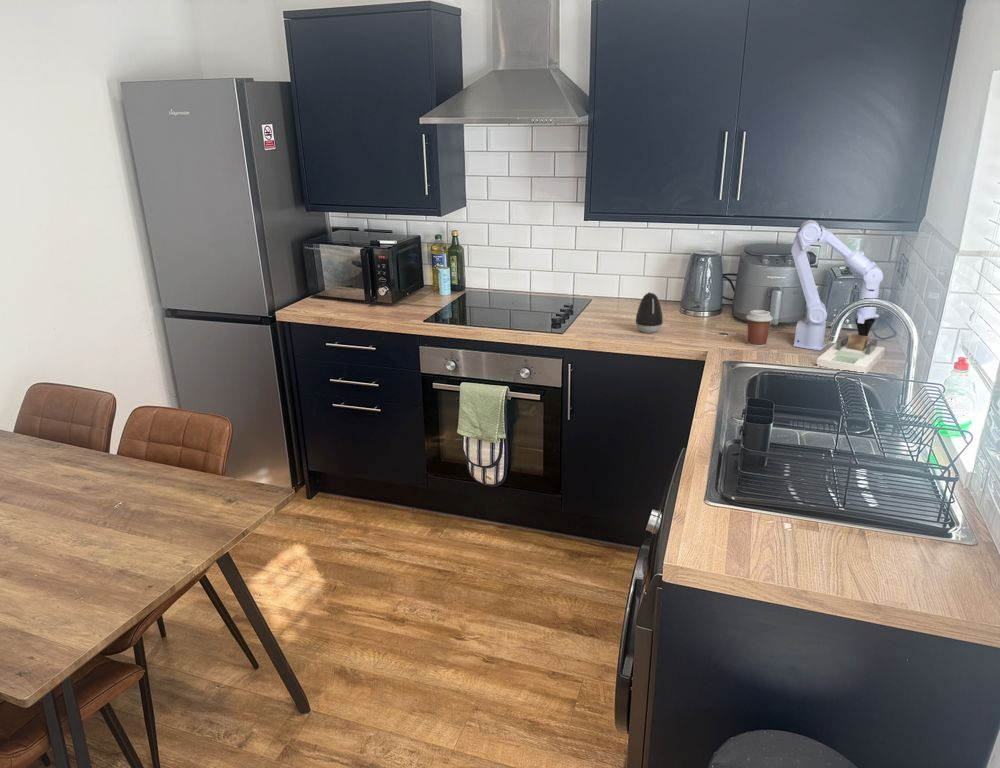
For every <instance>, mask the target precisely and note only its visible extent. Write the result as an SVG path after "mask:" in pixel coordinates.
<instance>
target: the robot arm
mask: <svg viewBox="0 0 1000 768" xmlns="http://www.w3.org/2000/svg"><path fill="white" fill-rule="evenodd" d="M796 230H797V231H796V233H795V237H794V239H793V243H792V246H791V248H790V250H791V251H790V252H791V255H792V259H793V262H794V266H795V269H796V272H797V276H798V278H799V282H800V285H801V288H802V289H801V290H802V292H803V295H804V300H805V303H806V314H807V315H806V317H805V318H804V320H799V321H797V323H796V327H795V333H794V342H793V347H795V348H802V349H808V350H815V351H819V352H820V351H822V350H823V349H825V348H826V347H827V345H828V344H827V343H825V335H826V329H827V321H826V320H827V317H828V312H827V309H826V305H825V303H823V301H822V300H821V298H820V296H819V295H820V294H819V292H818V289H817V285H816V282H815V279H814V275H813V272H812V268H811V265H810V261H809V258H808V254H807V251H808V250H809V248H811V246H812V244H814V243H815V242H816V241H817V243H820V244H822V243H823V244H827V246H829V247H831V249H833V250H835V252H837V253H838V254H840V255H841V256H842V257H843V258H844V261H843V262H844V264H845V265H846V266H847V267H848V268H850V269H851V270H852V271H853V272H855V273H856V274H857V275H858V276H861V277H862V284H861V286H860V292H859V299H858V301H859V300H860V299H864V298H878V299H879V295H880V285H881V282H882V281H883V280H884V274H883V271H882V269H881V268H880V267H879V266H878V264H876V262H875V261H874V260H870V259H869V258H867V257H866V256H865V252H864V251H862V250H861V251H859V250H858V249H851V248H850V247H848V245H846V244H845V243H844V242H843V241H842V240H840V238H839V237H837V236H836V235H835V234H834V233H833V232H832V231H831V230H830V229H827V228H826V227H824V226H823V225H821V224H819V223H818V222H817V221H815V220H813V219H809V220H806V221H804V222H803V223H802V224H801V225H800V226H799V227H798V229H796ZM877 308H878V307H877ZM877 308H876V307H864V308H860V309H858V308H857V312H856V313H855V314H856V317H857V318H856V319H855V325H856V327H857V335H862V336H868V337H869V333H870V331H871V329H872V326H873V325H874V323H875V322H876V319H875V318H879V317H880V314H878V313H877Z"/></svg>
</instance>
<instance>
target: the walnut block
mask: <svg viewBox="0 0 1000 768" xmlns="http://www.w3.org/2000/svg"><path fill="white" fill-rule="evenodd" d="M868 341H869V335H868V336H862V335H858V334H854V333H852V334H851V335H850V336H849V337H848V347H847V349H852V350H859V351H864V350H865V349H866V347H867V345H868Z"/></svg>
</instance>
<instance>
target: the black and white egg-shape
mask: <svg viewBox="0 0 1000 768" xmlns="http://www.w3.org/2000/svg"><path fill="white" fill-rule="evenodd" d="M663 320H664V319H663V312H662V307H661V301H660V299H659V298H658V296H657V294H655V293H653V292H651V291H650V292H647V293H645V294H644V295H643V297H642V298H641V300H640V302H639V305H638V308H637V312H636V316H635V323H636V328H637V329H638V331H640V332H641V333H643V332H644V334H655V333H657V332H658V331H659V330H660V329H661V327H662V325H663V323H664V322H663Z"/></svg>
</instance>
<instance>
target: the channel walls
mask: <svg viewBox="0 0 1000 768" xmlns="http://www.w3.org/2000/svg"><path fill="white" fill-rule="evenodd" d="M849 337H850V336H849V335H848V334H844V335H843V336H842V337H841V338H840V339H838V340H837V341H836V342H837V347H836V350H841V349H842V348H843V347H844V346H845V345H846V344H847V343H848V340H849ZM877 345H878V338H873V339H872V340H871V341H870V342H869V343H867V347H866V353H865V354H866V355H870V354H871V353H872V352H873V351H874V350H875V349H876V346H877ZM877 347H878V346H877Z"/></svg>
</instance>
